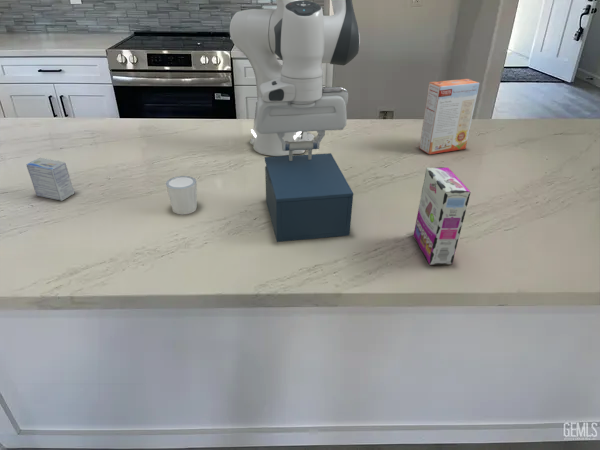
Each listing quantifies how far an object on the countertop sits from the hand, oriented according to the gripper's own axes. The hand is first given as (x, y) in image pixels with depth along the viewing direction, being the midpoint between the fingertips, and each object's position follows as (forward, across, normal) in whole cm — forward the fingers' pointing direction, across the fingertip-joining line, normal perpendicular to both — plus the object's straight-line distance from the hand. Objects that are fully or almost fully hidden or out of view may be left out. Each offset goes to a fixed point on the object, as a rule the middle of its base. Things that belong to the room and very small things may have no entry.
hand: (300, 149), depth 101 cm
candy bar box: (+14, -24, +24) cm, 37 cm away
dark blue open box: (+14, 0, +7) cm, 16 cm away
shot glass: (+14, +27, -1) cm, 31 cm away
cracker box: (+15, -51, -28) cm, 60 cm away
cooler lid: (+4, 0, +7) cm, 8 cm away
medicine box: (+14, +59, -13) cm, 62 cm away
